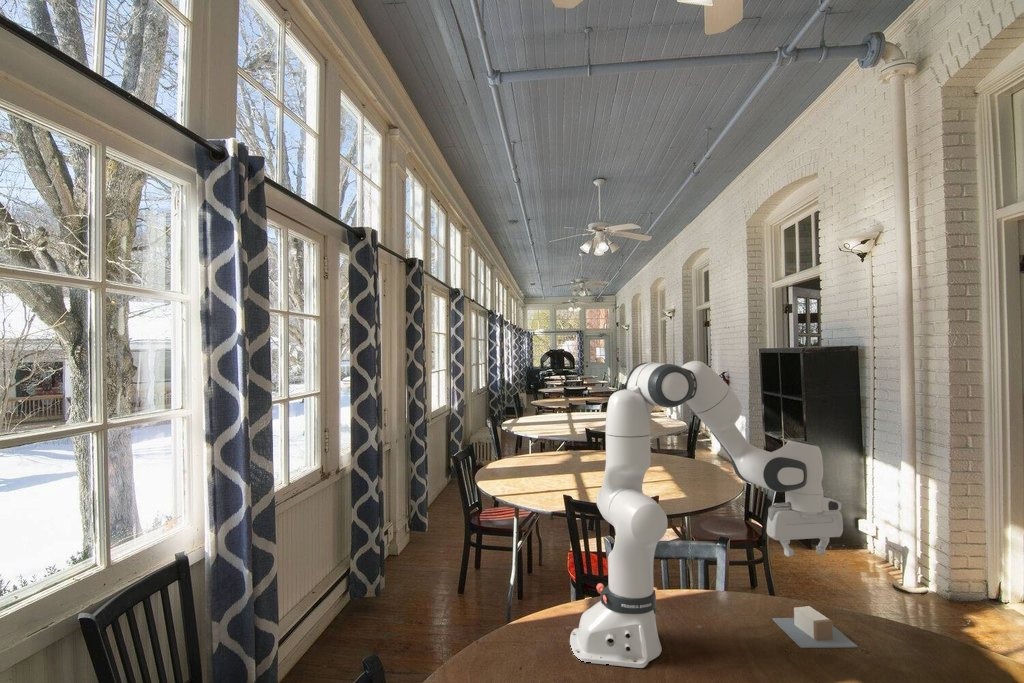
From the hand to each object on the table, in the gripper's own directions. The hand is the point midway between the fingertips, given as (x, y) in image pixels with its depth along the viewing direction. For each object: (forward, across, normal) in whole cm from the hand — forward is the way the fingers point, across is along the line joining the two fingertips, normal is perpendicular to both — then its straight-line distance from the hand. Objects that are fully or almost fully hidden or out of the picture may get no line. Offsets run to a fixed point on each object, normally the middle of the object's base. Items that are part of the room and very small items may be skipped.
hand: (804, 554), depth 137 cm
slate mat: (+19, +1, -2) cm, 19 cm away
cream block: (+17, 0, +2) cm, 17 cm away
